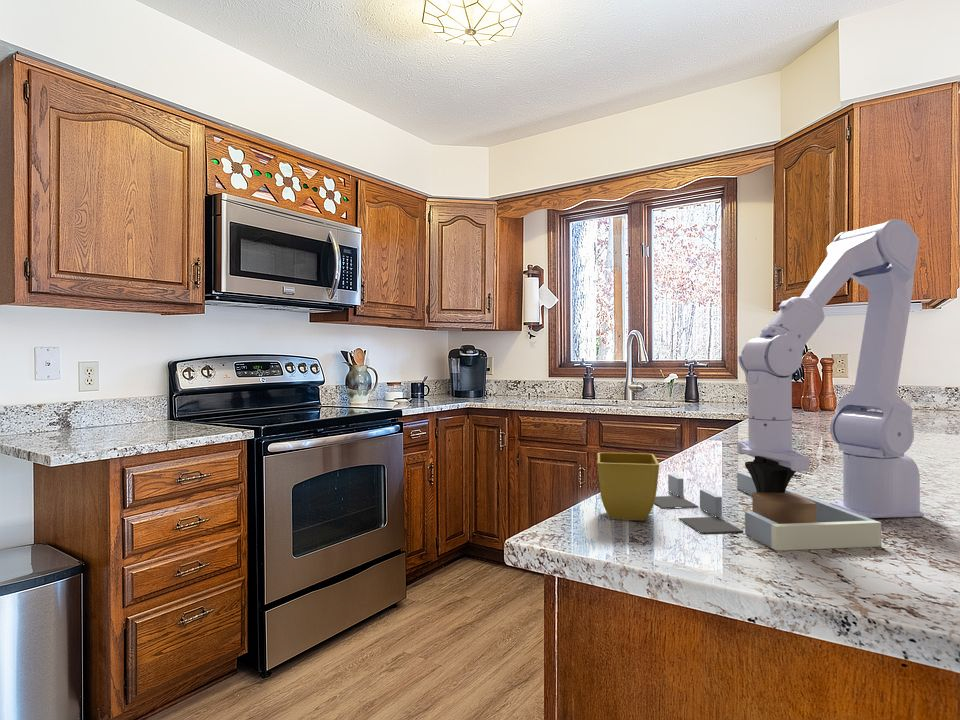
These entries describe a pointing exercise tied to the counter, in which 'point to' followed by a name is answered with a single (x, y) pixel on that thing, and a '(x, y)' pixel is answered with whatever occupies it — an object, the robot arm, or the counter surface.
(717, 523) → the mat
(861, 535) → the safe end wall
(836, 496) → the counter surface
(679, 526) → the counter surface
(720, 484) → the counter surface
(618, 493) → the flower pot
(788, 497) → the walnut block
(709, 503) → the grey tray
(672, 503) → the mat
